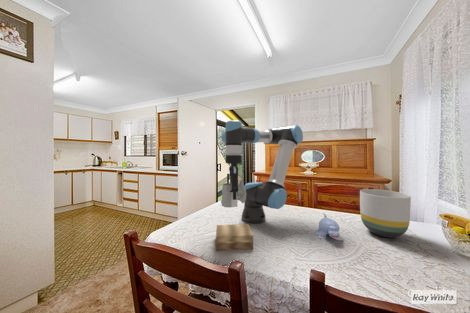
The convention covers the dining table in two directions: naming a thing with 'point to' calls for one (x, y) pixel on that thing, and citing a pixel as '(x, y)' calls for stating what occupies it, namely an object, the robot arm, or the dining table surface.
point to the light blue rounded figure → (328, 228)
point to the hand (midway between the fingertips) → (233, 203)
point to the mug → (227, 194)
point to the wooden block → (234, 237)
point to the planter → (385, 212)
